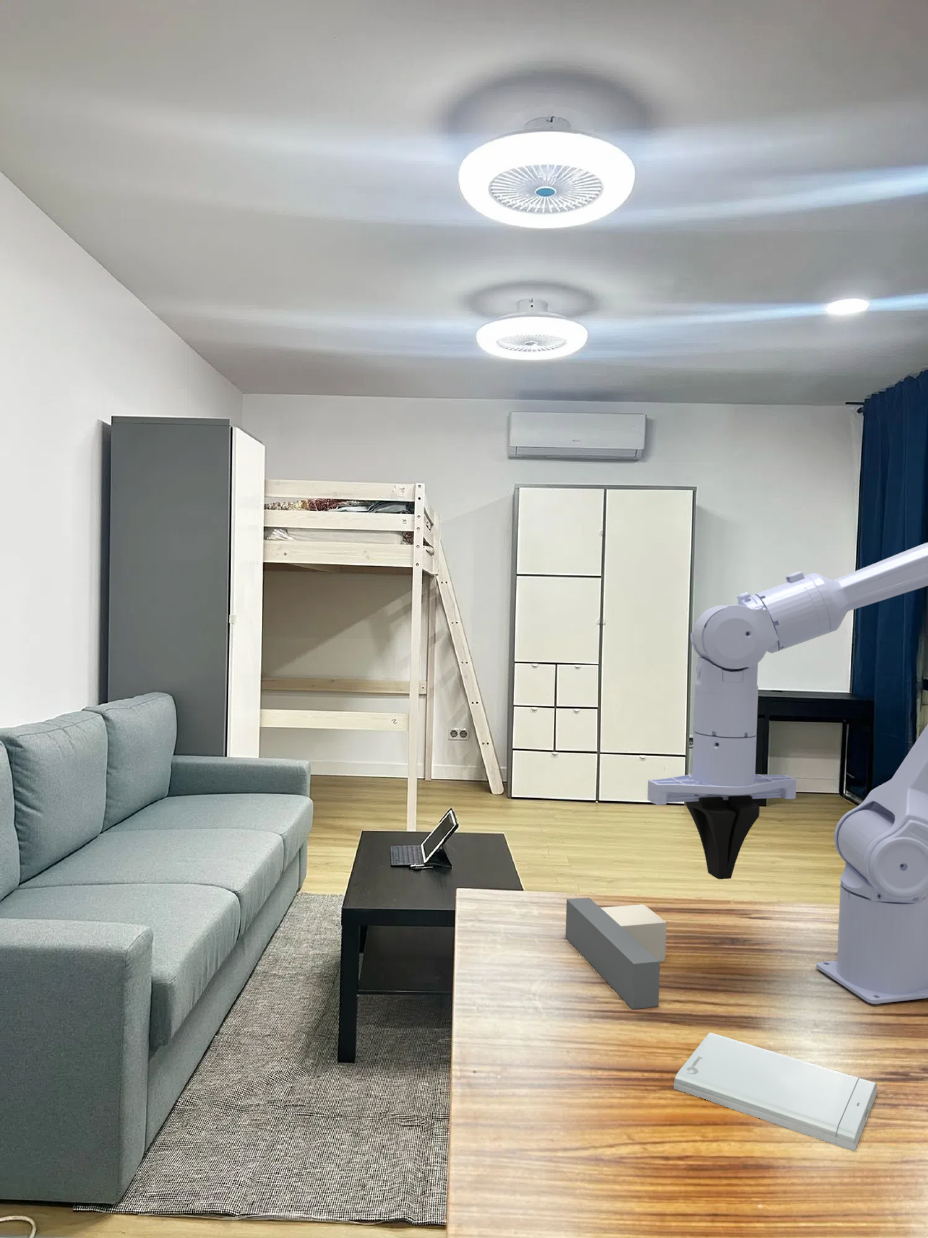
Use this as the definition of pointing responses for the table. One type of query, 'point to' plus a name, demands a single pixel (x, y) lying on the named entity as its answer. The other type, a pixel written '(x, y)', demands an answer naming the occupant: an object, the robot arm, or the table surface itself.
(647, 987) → the gray bar
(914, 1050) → the table surface
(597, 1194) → the table surface
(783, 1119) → the hard drive
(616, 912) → the cream block
